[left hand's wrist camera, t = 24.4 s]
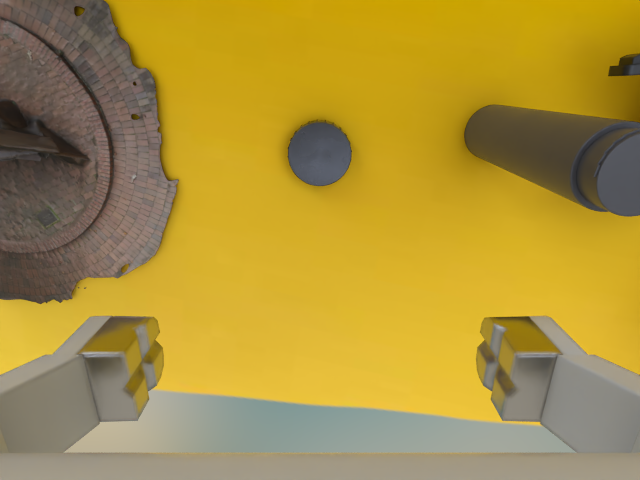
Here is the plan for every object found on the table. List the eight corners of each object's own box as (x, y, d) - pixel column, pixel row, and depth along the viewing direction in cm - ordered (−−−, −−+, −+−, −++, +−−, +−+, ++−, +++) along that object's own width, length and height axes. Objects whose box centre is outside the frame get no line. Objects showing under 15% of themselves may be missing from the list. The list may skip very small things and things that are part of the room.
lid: (281, 171, 39) (279, 175, 37) (299, 111, 37) (298, 112, 35) (338, 189, 39) (339, 194, 38) (359, 131, 37) (360, 133, 36)
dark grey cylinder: (523, 107, 37) (710, 129, 19) (509, 160, 38) (669, 226, 21) (470, 102, 37) (611, 120, 19) (459, 156, 38) (577, 218, 21)
